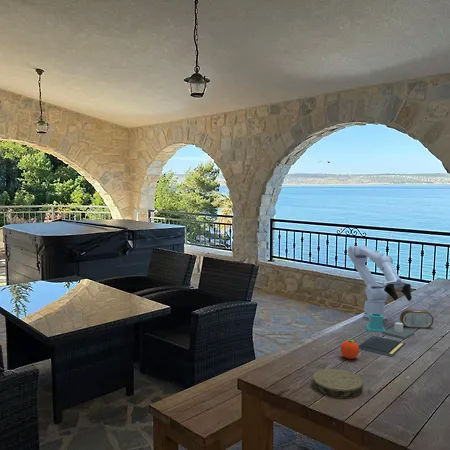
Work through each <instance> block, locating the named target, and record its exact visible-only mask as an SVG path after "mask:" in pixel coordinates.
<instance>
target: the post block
mask: <svg viewBox="0 0 450 450" xmlns="http://www.w3.org/2000/svg"><path fill="white" fill-rule="evenodd" d="M382 334H383V335H386V336H390V337H395V338H398V339H401V340H406V339H408V338H410V337H412V336H414V335H415V332H414V331H410V330H406V329H404V324H403V323H402V322H399V321H397V322H395V323H394V326H392V327H390V328H388V329H385V331H383V332H382Z"/></svg>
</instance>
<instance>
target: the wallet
mask: <svg viewBox="0 0 450 450" xmlns="http://www.w3.org/2000/svg"><path fill="white" fill-rule="evenodd" d="M405 345H406V343H405V342H402V341H399V340H395V339H392V338H391V339H390V338H386V337H381V336H378V335H372V336H370V337H369V338H368V339H366V340H365V341H363V342H362V343H361V344H358V347H359V350H360V351H365V352H370V353H374V354H377V355H381V356H387V357H391V358H393V357H394V356H395V355H396V354H397V353H398V352H399V351H400V350H401V349H402V348H403V347H404V346H405Z"/></svg>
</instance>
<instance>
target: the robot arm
mask: <svg viewBox="0 0 450 450" xmlns="http://www.w3.org/2000/svg"><path fill="white" fill-rule="evenodd" d="M347 252H348V253H347V254H348V257H349V259H350V261H351V262H352V263H353V265H354V267H355V269H356V271H357V272H358V274H359V275H360V278H361V279H362V280H363V282H364V284H365V285H366V286H365V295H366V298H367V299H365V302H364V304H363V305H364V307H363V308H364V309H363V315H362V317H363V318H366V319H369V313H376V314H382V316H383V320H386V319H388V317H387V316H385V305H386V304H385V302H387V300H388V299H389V296H390V297H391V298H392V299H393V301H397V300H398V299H399V297H398V294H397V292H396V289H398V288H402V289H401V290H400V292H401V293H402V294H403V296H405V298H406V299H407V301H409V302H410V301H412V299H413V297H412V291H411V287H412V285H411V284H410V282H407V281H404V280H402V278H400V276H399V275H398V273H397V271H396V269H395V267H394V266H393V264H394V263H393V258H392V256H390V255H385V254H384V253H380V252H379V250H371V249H370V248H369V246H367V245H350V246H349V247H348V249H347ZM368 258H369V260H370V261H371V262H373V263H375V264H376V265H375V266H376V267H377V268H378V269H379V270H380V271H381V272H382V273H383V276H384V278H385V280H386V281H382V282H381V283H378V282H377V280H376V278H375V277H374V275H373V274H372V273H371V271H370V270H369V268H368V267H367V265H366V263H367V262H368Z"/></svg>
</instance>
